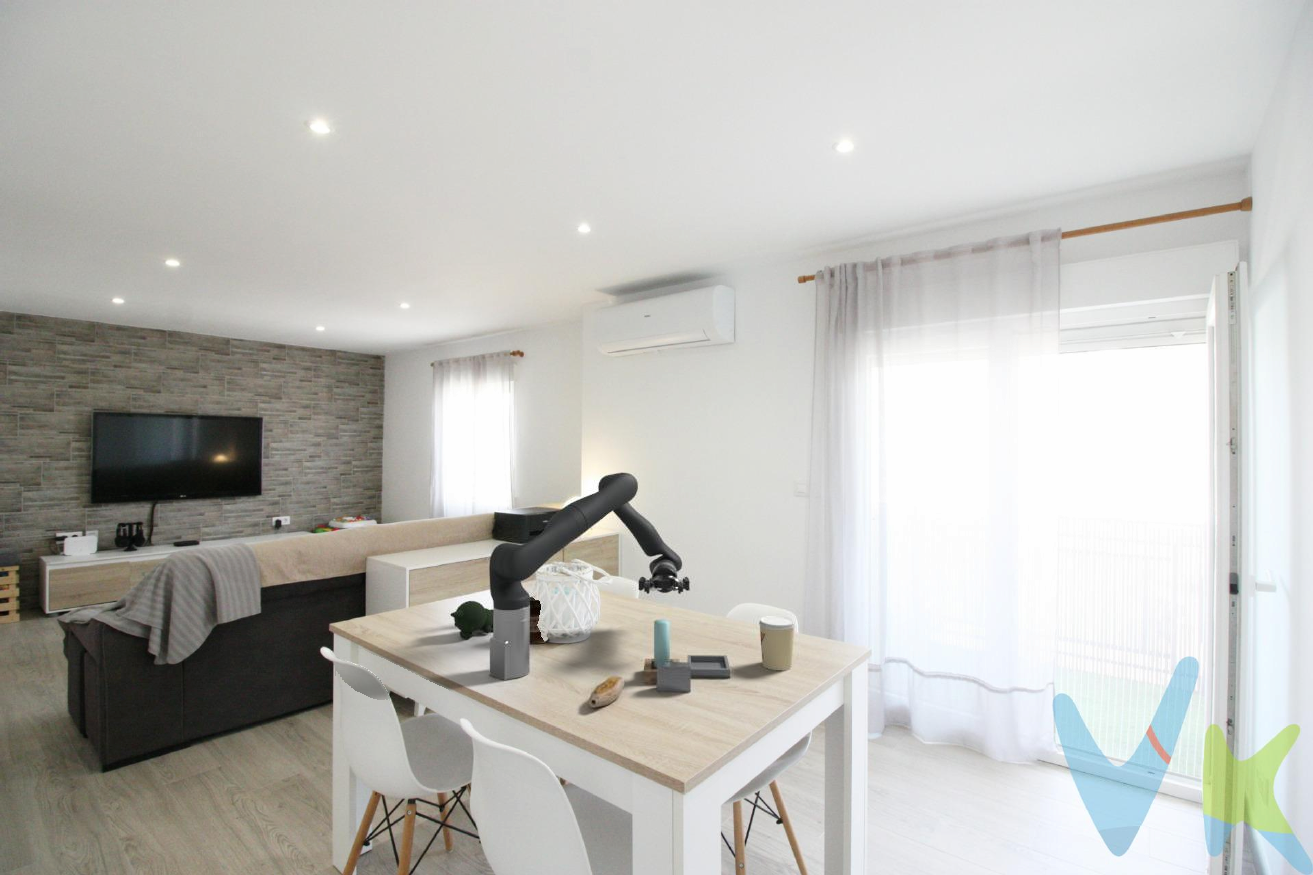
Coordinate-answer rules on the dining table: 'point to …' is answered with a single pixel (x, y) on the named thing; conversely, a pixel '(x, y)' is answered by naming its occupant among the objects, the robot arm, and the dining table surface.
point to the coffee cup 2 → (777, 642)
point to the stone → (606, 692)
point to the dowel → (661, 641)
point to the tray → (709, 666)
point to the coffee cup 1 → (535, 621)
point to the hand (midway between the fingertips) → (663, 589)
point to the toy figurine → (472, 619)
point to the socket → (652, 671)
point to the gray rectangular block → (673, 677)
